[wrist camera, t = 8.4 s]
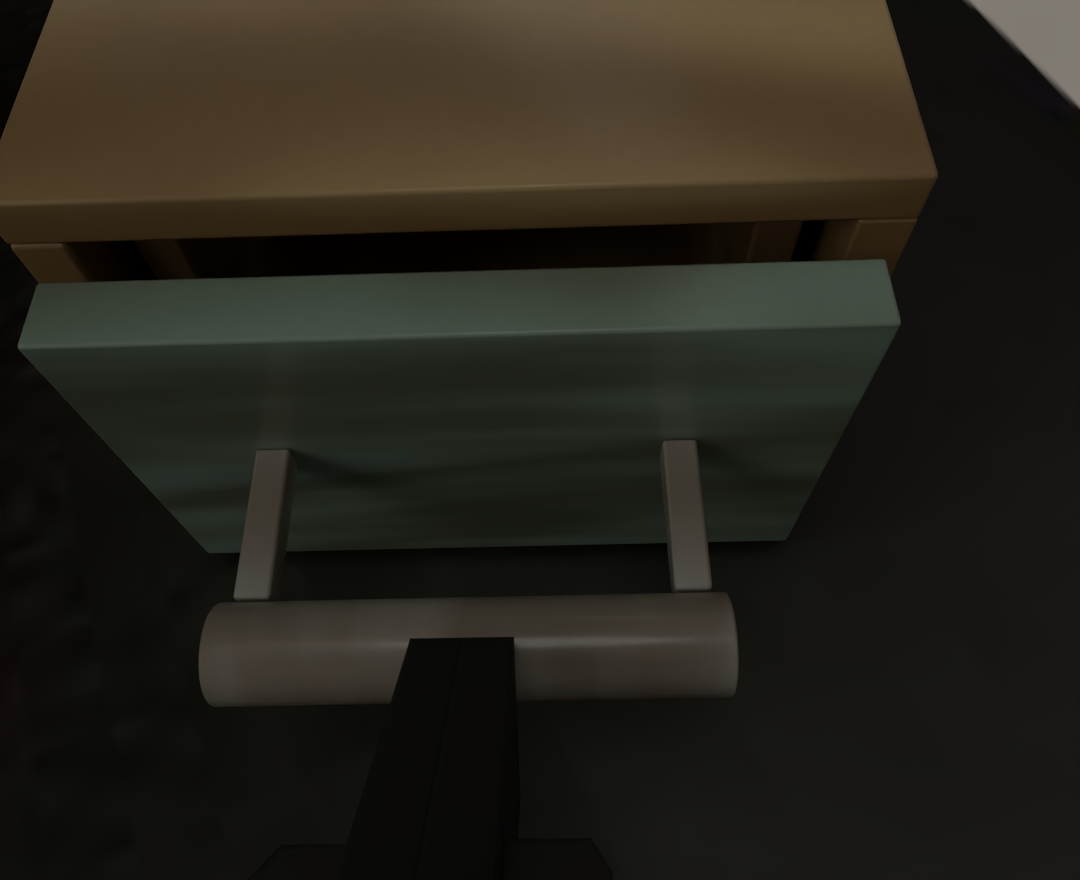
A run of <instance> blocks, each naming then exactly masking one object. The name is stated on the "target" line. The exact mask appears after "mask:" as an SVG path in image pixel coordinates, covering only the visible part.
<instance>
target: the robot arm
mask: <svg viewBox="0 0 1080 880" xmlns="http://www.w3.org/2000/svg"><path fill="white" fill-rule="evenodd" d="M519 809H520V782H519V757H518V731H517V705H516V680H515V654H514V637H467V638H410V641H409V644H408V647H407V650H406V654H405V657H404V660H403V663H402V667H401V670H400V673H399V676H398V680H397V683H396V686H395V689H394V693H393V696H392V699H391V702H390V706H389V709H388V712H387V715H386V718H385V722H384V725H383V728H382V731H381V735H380V738H379V741H378V744H377V748H376V751H375V754H374V757H373V761H372V764H371V767H370V770H369V774H368V777H367V780H366V783H365V787H364V790H363V793H362V796H361V800H360V803H359V806H358V809H357V813H356V816H355V819H354V822H353V826H352V829H351V832H350V835H349V838H348V842H347V844H332V845H281V846H280V847H279V848H278V849H277V850H276V851H275V852H274V853H273V854H272V855H271V856H270V857H269V858H268V859H267V860H266V861H265V862H264V863H263V864H262V865H261V866H260V867H259V869H258V870H257V871H256V872H255V873H254V874H253V875H252V876H251V877H250V878H249V879H248V880H613V877H612V871H611V869H610V868H609V866H608V864H607V863H606V861H605V860H604V858H603V857H602V855H601V853H600V852H599V850H598V849H597V847H596V846H595V844H594V842H593V841H592V839H591V838H565V839H518V828H519Z"/></svg>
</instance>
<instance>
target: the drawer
mask: <svg viewBox="0 0 1080 880" xmlns="http://www.w3.org/2000/svg"><path fill="white" fill-rule="evenodd" d="M803 222H804V221H779V222H745V223H711V224H677V225H643V226H610V227H576V228H542V229H508V230H474V231H440V232H407V233H373V234H339V235H305V236H271V237H237V238H204V239H170V240H136V241H133V243H134V244H135V246H136V248H137V249H138V251H139V252H140V254H141V256H142V257H143V259H144V260H145V262H146V264H147V265H148V267H149V268H150V270H151V272H152V273H153V275H154V276H155V278H156V280H133V281H98V282H63V283H40V284H38V285H37V287H36V290H35V293H34V296H33V299H32V302H31V305H30V309H29V312H28V315H27V318H26V321H25V324H24V327H23V330H22V333H21V337H20V340H19V343H18V349H19V350H20V351H21V352H22V353H23V354H24V356H25V357H26V358H27V359H28V360H29V361H30V362H31V363H32V364H33V365H34V366H35V367H36V368H37V370H38V371H39V372H40V373H41V374H42V375H43V376H44V377H45V378H46V379H47V380H48V381H49V382H50V383H51V385H52V386H53V387H54V388H55V389H56V390H57V391H58V392H59V393H60V394H61V395H62V396H63V397H64V399H65V400H66V401H67V402H68V403H69V404H70V405H71V406H72V407H73V408H74V409H75V410H76V411H77V413H78V414H79V415H80V416H81V417H82V418H83V419H84V420H85V421H86V422H87V423H88V424H89V425H90V426H91V428H92V429H93V430H94V431H95V432H96V433H97V434H98V435H99V436H100V437H101V438H102V439H103V440H104V442H105V443H106V444H107V445H108V446H109V447H110V448H111V449H112V450H113V451H114V452H115V453H116V454H117V456H118V457H119V458H120V459H121V460H122V461H123V462H124V463H125V464H126V465H127V466H128V467H129V468H130V469H131V471H132V472H133V473H134V474H135V475H136V476H137V477H138V478H139V479H140V480H141V481H142V482H143V483H144V485H145V486H146V487H147V488H148V489H149V490H150V491H151V492H152V493H153V494H154V495H155V496H156V497H157V499H158V500H159V501H160V502H161V503H162V504H163V505H164V506H165V507H166V508H167V509H168V510H169V511H170V512H171V514H172V515H173V516H174V517H175V518H176V519H177V520H178V521H179V522H180V523H181V524H182V525H183V526H184V528H185V529H186V530H187V531H188V532H189V533H190V534H191V535H192V536H193V537H194V538H195V539H196V540H197V542H198V543H199V544H200V545H201V546H202V547H203V548H204V549H205V550H206V551H207V552H208V553H236V552H241V553H240V559H239V565H238V572H237V578H236V584H235V591H234V599H235V600H236V601H237V602H221V603H219V604H217V605H215V606H214V607H213V608H212V609H211V611H210V612H209V614H208V616H207V619H206V621H205V624H204V627H203V631H202V635H201V640H200V647H199V678H200V684H201V689H202V692H203V695H204V697H205V699H206V701H207V702H208V703H209V704H210V705H212V706H214V707H252V706H306V705H360V704H390V702H391V699H392V696H393V693H394V689H395V686H396V683H397V680H398V676H399V673H400V670H401V667H402V663H403V660H404V657H405V654H406V650H407V647H408V644H409V641H410V638H467V637H514V654H515V680H516V702H521V701H574V700H628V699H682V698H730V697H732V696H734V694H735V691H736V688H737V682H738V670H739V653H738V637H737V628H736V621H735V615H734V610H733V606H732V603H731V600H730V598H729V596H728V594H727V593H725V592H710V591H711V588H712V578H711V569H710V559H709V550H708V542H731V541H776V540H786V539H787V538H788V536H789V534H790V532H791V530H792V528H793V526H794V525H795V523H796V521H797V519H798V517H799V515H800V513H801V511H802V509H803V508H804V506H805V504H806V502H807V500H808V498H809V496H810V494H811V493H812V491H813V489H814V487H815V485H816V483H817V481H818V479H819V478H820V476H821V474H822V472H823V470H824V468H825V466H826V464H827V462H828V461H829V459H830V457H831V455H832V453H833V451H834V449H835V447H836V446H837V444H838V442H839V440H840V438H841V436H842V434H843V432H844V430H845V429H846V427H847V425H848V423H849V421H850V419H851V417H852V415H853V414H854V412H855V410H856V408H857V406H858V404H859V402H860V400H861V398H862V397H863V395H864V393H865V391H866V389H867V387H868V385H869V383H870V382H871V380H872V378H873V376H874V374H875V372H876V370H877V368H878V366H879V365H880V363H881V361H882V359H883V357H884V355H885V353H886V351H887V350H888V348H889V346H890V344H891V342H892V340H893V338H894V336H895V335H896V333H897V331H898V329H899V327H900V325H901V320H900V316H899V312H898V308H897V304H896V300H895V296H894V292H893V288H892V284H891V280H890V276H889V272H888V268H887V264H886V261H885V260H884V259H866V260H832V261H797V262H791V259H792V256H793V253H794V250H795V247H796V243H797V240H798V237H799V234H800V231H801V228H802V225H803ZM641 543H667V549H668V561H669V573H670V585H671V593H646V594H599V595H551V596H504V597H456V598H409V599H361V600H314V601H280V595H281V587H282V580H283V572H284V565H285V557H286V551H326V550H371V549H416V548H461V547H506V546H551V545H596V544H641Z"/></svg>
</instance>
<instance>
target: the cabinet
mask: <svg viewBox="0 0 1080 880" xmlns="http://www.w3.org/2000/svg"><path fill="white" fill-rule="evenodd" d="M937 176H938V172H937V169H936V166H935V162H934V159H933V156H932V152H931V149H930V146H929V142H928V139H927V136H926V133H925V129H924V126H923V123H922V119H921V116H920V113H919V109H918V106H917V103H916V99H915V96H914V93H913V90H912V86H911V83H910V80H909V76H908V73H907V70H906V66H905V63H904V60H903V56H902V53H901V50H900V47H899V43H898V40H897V37H896V33H895V30H894V27H893V23H892V20H891V17H890V13H889V10H888V7H887V4H886V0H54V1H53V4H52V6H51V9H50V11H49V14H48V17H47V19H46V22H45V24H44V27H43V30H42V32H41V35H40V38H39V40H38V43H37V45H36V48H35V51H34V53H33V56H32V58H31V61H30V64H29V66H28V69H27V71H26V74H25V77H24V79H23V82H22V85H21V87H20V90H19V92H18V95H17V98H16V100H15V103H14V105H13V108H12V111H11V113H10V116H9V118H8V121H7V124H6V126H5V129H4V132H3V134H2V137H1V139H0V236H1V237H2V238H3V239H4V241H5V242H7V243H9V244H11V248H12V250H13V251H14V252H15V254H16V255H17V256H18V257H19V259H20V260H21V261H22V262H23V264H24V265H25V266H26V267H27V269H28V270H29V271H30V272H31V274H32V275H33V276H34V277H35V279H36V280H37V281H38V282H39V283H63V282H98V281H133V280H156V278H155V276H154V275H153V273H152V272H151V270H150V268H149V267H148V265H147V264H146V262H145V260H144V259H143V257H142V256H141V254H140V252H139V251H138V249H137V248H136V246H135V244H134V243H133V241H136V240H170V239H204V238H237V237H271V236H305V235H339V234H373V233H407V232H440V231H474V230H508V229H542V228H576V227H610V226H643V225H677V224H711V223H745V222H779V221H804V222H803V225H802V228H801V231H800V234H799V237H798V240H797V243H796V247H795V250H794V253H793V256H792V259H791V262H797V261H832V260H866V259H884V260H885V261H886V264H887V268H888V272H889V276H890V277H891V275H892V273H893V271H894V268H895V266H896V264H897V262H898V260H899V258H900V256H901V254H902V252H903V250H904V248H905V245H906V243H907V241H908V239H909V237H910V235H911V233H912V231H913V229H914V227H915V225H916V222H917V216H919V215H920V213H921V211H922V209H923V207H924V205H925V202H926V200H927V198H928V196H929V194H930V192H931V190H932V188H933V186H934V184H935V182H936V179H937Z"/></svg>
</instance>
